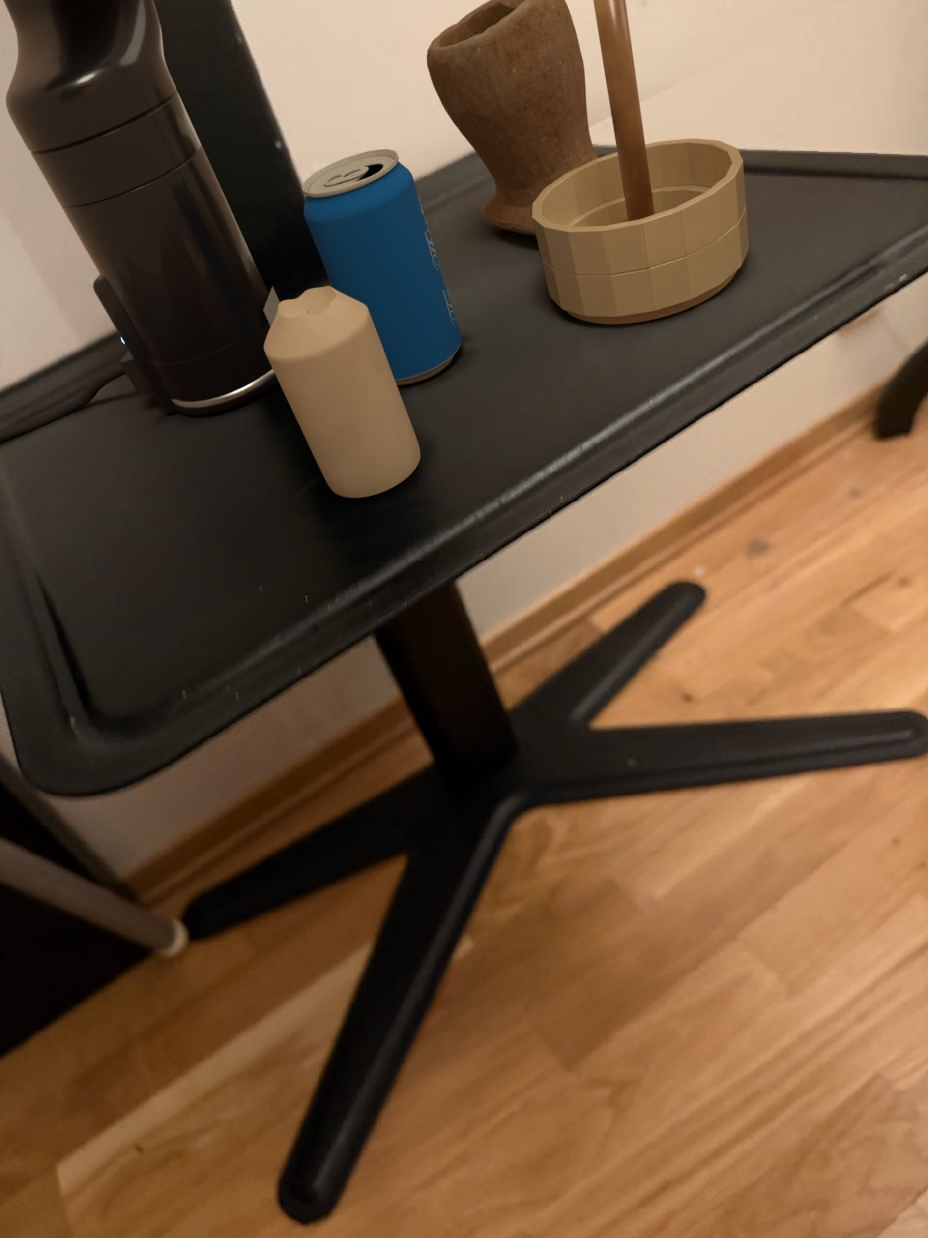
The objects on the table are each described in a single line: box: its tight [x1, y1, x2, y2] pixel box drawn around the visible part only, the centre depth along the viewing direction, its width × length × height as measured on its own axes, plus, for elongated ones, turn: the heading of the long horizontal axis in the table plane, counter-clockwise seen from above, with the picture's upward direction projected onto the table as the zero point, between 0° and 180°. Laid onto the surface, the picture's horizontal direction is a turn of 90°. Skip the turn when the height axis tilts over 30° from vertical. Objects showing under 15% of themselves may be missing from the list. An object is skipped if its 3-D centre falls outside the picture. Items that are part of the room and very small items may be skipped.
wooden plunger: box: [592, 0, 664, 224], centre depth 51 cm, size 5×5×17 cm
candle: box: [264, 285, 421, 499], centre depth 46 cm, size 6×6×10 cm
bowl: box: [532, 137, 750, 325], centre depth 55 cm, size 12×12×6 cm
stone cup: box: [426, 0, 600, 237], centre depth 62 cm, size 15×12×15 cm
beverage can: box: [301, 148, 463, 386], centre depth 53 cm, size 6×6×12 cm
